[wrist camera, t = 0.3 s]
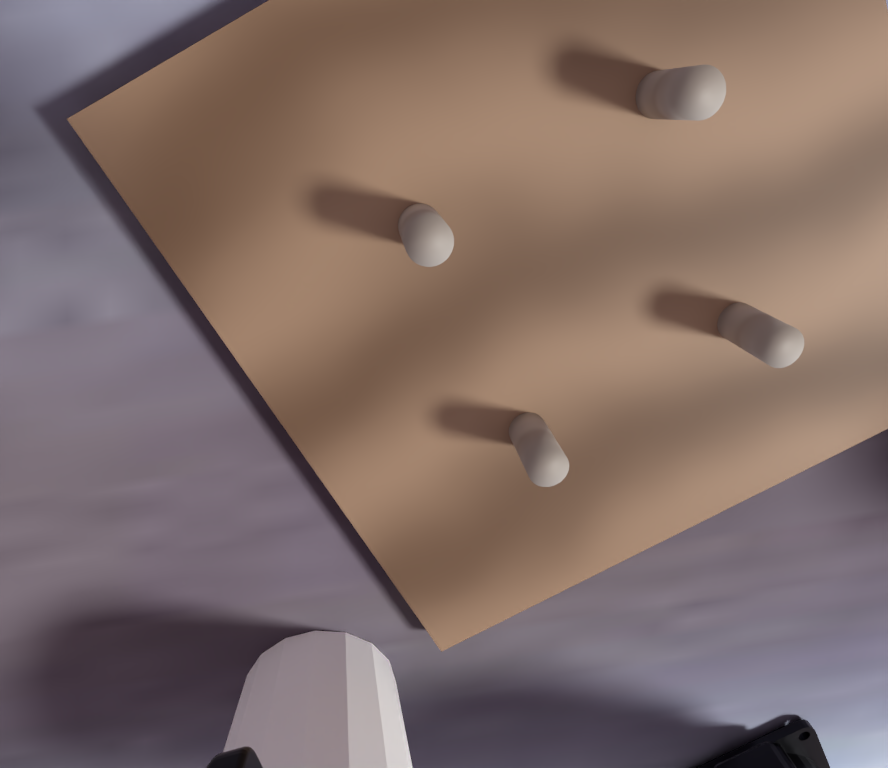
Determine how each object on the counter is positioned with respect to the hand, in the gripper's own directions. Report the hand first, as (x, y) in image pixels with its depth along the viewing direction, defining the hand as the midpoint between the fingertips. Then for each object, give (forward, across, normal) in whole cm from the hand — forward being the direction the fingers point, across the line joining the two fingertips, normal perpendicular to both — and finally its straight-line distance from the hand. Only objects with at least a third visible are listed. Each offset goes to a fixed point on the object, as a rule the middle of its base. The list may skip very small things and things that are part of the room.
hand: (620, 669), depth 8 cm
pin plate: (+14, -4, -1) cm, 14 cm away
